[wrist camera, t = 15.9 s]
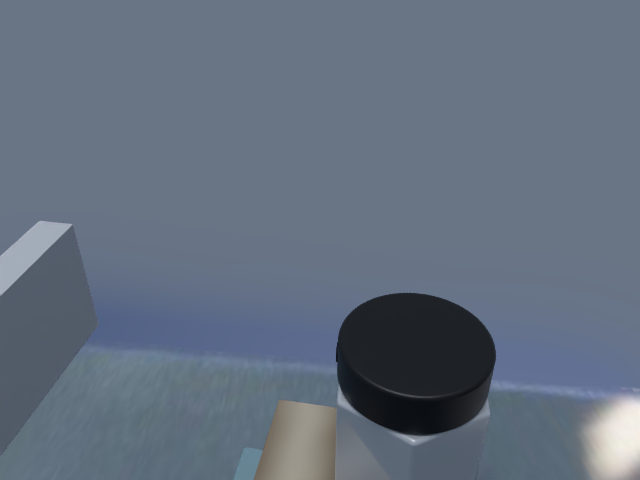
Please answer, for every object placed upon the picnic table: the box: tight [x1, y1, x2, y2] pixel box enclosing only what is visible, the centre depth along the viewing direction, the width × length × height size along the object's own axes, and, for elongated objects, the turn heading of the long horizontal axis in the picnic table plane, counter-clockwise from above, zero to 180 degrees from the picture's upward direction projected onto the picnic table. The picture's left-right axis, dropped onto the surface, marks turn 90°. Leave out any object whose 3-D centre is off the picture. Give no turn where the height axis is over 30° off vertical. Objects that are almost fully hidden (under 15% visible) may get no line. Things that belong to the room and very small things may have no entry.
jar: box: [335, 293, 496, 480], centre depth 35 cm, size 9×8×12 cm
